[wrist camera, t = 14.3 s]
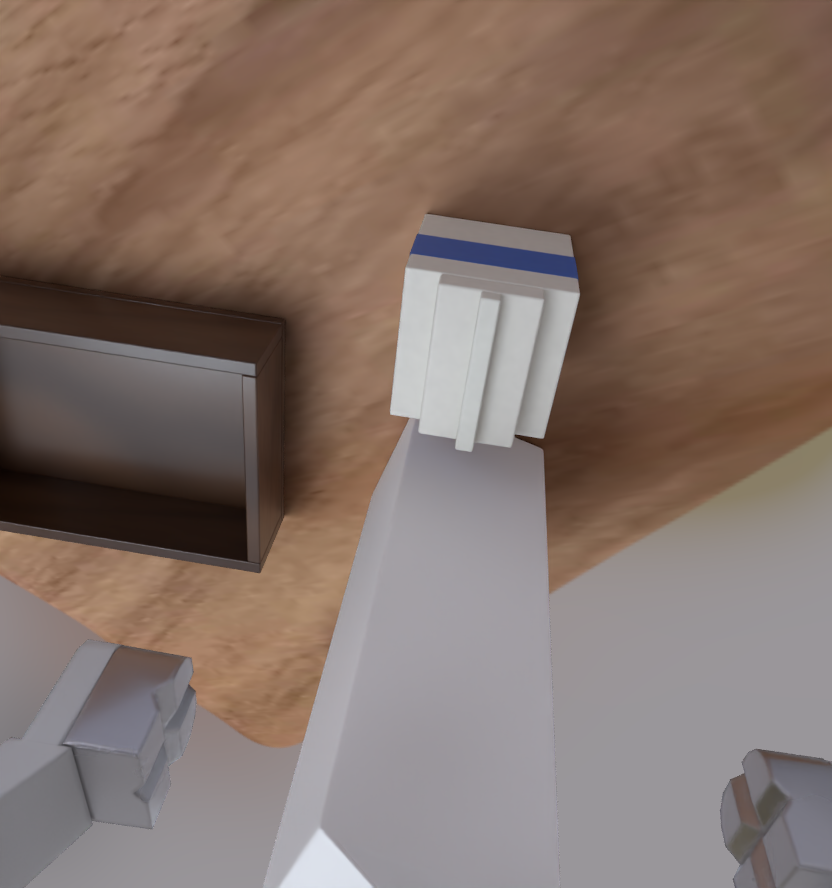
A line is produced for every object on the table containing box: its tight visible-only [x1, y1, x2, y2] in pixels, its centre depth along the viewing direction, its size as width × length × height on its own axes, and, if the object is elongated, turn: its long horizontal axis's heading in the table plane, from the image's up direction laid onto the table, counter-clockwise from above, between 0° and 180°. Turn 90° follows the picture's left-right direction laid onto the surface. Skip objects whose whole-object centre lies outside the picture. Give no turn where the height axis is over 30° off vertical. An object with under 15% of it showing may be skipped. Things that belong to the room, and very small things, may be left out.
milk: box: [263, 418, 560, 888], centre depth 24 cm, size 6×6×22 cm
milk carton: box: [390, 214, 580, 452], centre depth 26 cm, size 5×5×7 cm
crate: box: [0, 276, 285, 573], centre depth 32 cm, size 11×15×4 cm
